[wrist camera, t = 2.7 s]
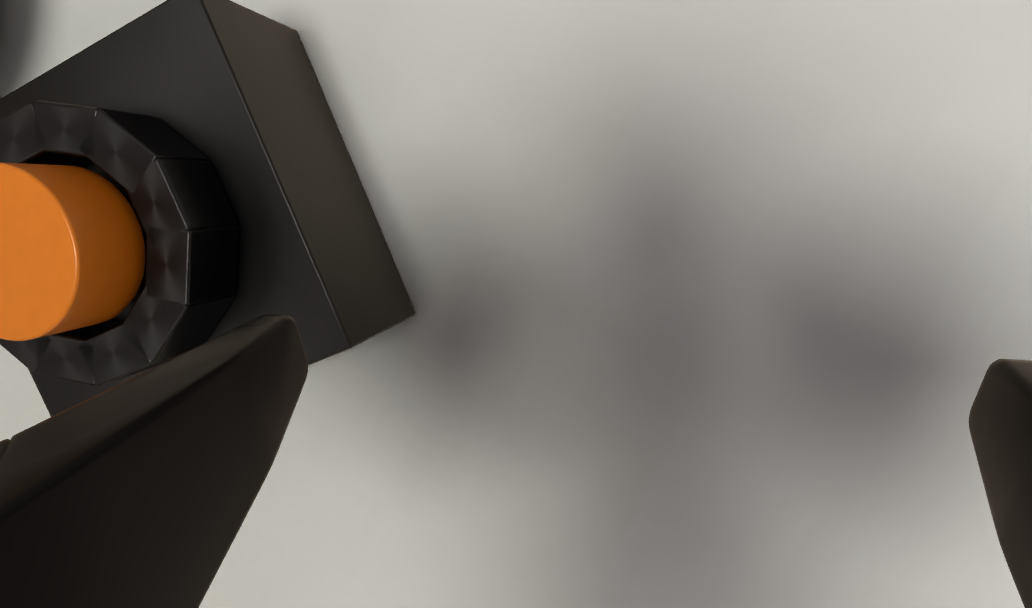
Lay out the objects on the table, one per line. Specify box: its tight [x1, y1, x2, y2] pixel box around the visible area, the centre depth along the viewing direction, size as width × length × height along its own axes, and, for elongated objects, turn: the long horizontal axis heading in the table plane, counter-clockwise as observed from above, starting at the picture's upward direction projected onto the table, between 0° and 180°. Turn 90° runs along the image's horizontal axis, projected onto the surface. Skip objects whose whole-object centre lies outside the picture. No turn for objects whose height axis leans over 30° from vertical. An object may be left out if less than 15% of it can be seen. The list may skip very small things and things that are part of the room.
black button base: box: [0, 0, 415, 417], centre depth 20 cm, size 10×10×7 cm
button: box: [0, 162, 146, 341], centre depth 16 cm, size 4×4×2 cm
